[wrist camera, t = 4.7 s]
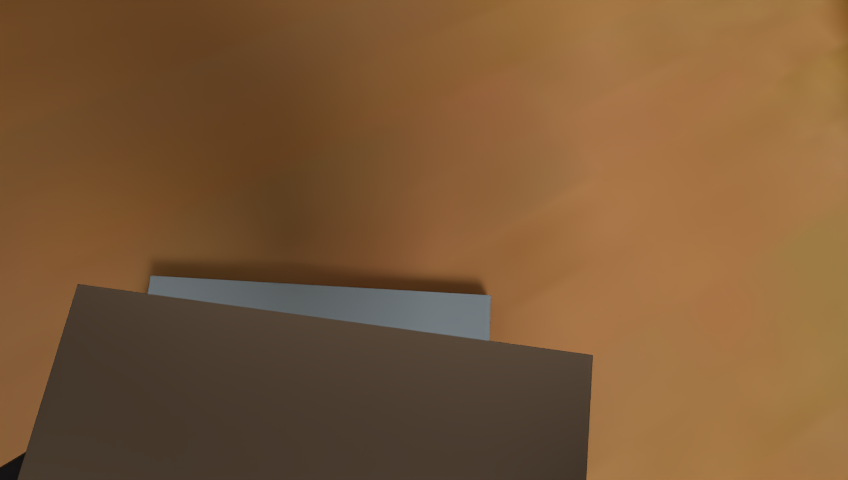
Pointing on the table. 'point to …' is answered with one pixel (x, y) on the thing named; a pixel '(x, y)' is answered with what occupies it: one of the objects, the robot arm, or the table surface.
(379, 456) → the walnut pillar
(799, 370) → the table surface
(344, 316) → the slate coaster
